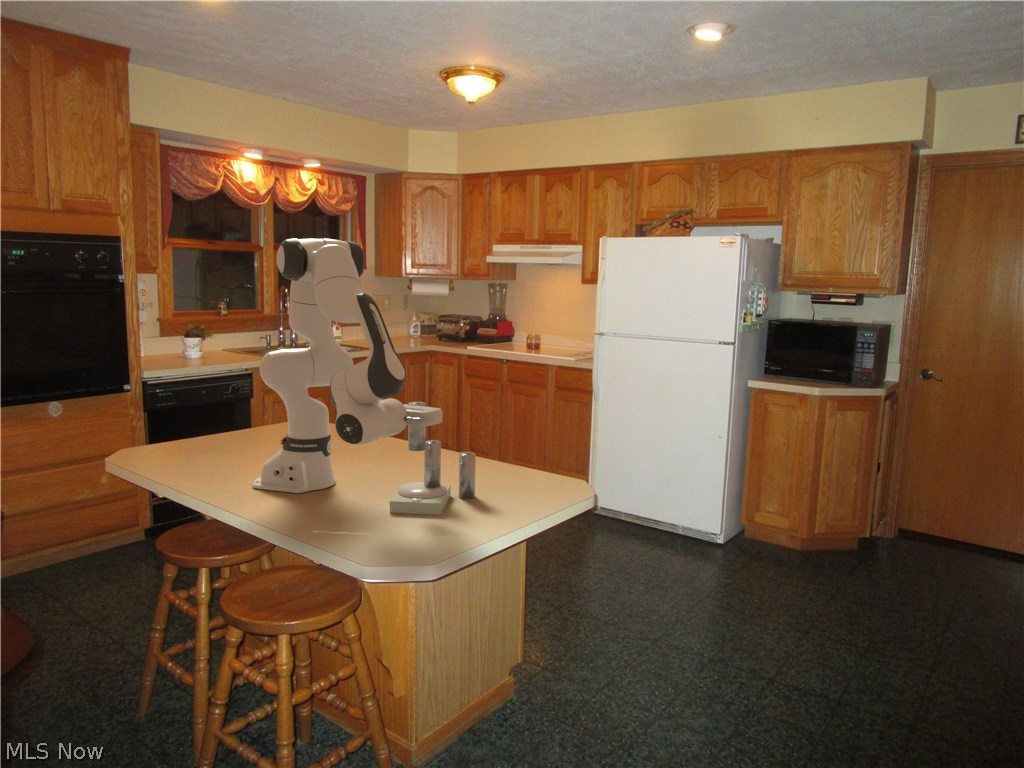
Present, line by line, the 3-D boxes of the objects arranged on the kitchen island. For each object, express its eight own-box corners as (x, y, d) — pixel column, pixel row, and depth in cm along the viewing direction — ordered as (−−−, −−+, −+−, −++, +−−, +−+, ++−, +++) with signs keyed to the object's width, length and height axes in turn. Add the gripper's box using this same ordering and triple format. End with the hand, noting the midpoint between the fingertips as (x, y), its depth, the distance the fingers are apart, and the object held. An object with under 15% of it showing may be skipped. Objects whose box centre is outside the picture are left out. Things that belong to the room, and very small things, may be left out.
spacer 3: (457, 498, 192) (458, 455, 191) (460, 493, 197) (460, 451, 195) (473, 499, 192) (474, 456, 190) (475, 494, 196) (476, 452, 195)
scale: (389, 512, 180) (389, 498, 179) (403, 493, 195) (403, 481, 195) (440, 514, 179) (440, 501, 178) (450, 495, 195) (450, 483, 194)
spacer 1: (406, 450, 182) (406, 404, 180) (410, 446, 186) (410, 401, 185) (423, 451, 182) (423, 404, 180) (426, 447, 186) (427, 402, 184)
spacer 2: (422, 487, 189) (422, 443, 188) (425, 482, 194) (426, 439, 192) (439, 488, 189) (439, 444, 187) (441, 483, 193) (442, 440, 192)
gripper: (426, 408, 166) (454, 400, 179) (354, 400, 174) (386, 393, 187) (425, 434, 167) (454, 424, 180) (354, 425, 175) (386, 416, 188)
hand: (418, 408), depth 183 cm, fingers closed on spacer 1, 4 cm apart
